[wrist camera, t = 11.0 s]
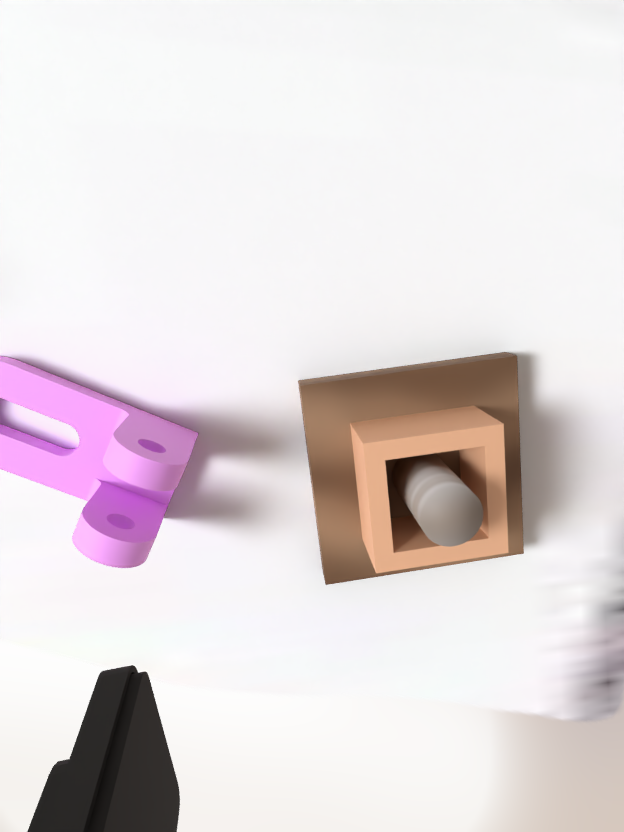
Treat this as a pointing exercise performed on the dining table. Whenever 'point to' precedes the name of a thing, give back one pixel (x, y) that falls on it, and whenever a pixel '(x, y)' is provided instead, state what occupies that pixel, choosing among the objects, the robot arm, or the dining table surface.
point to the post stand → (411, 476)
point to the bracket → (98, 461)
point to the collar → (421, 435)
